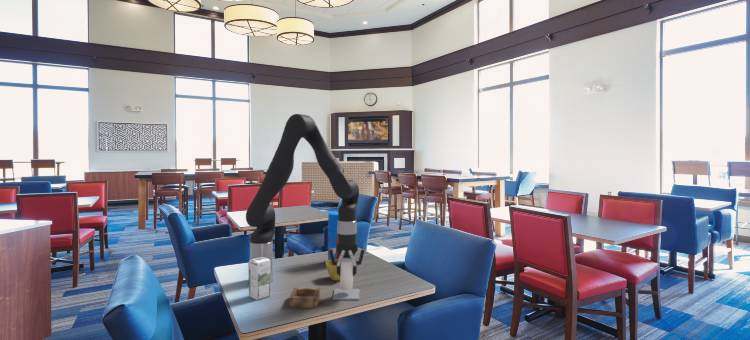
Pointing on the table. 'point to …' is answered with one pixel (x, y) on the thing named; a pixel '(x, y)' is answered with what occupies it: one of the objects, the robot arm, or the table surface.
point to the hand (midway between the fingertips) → (346, 274)
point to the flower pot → (332, 270)
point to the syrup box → (259, 278)
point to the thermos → (332, 233)
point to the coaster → (346, 294)
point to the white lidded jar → (346, 274)
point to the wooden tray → (304, 298)
